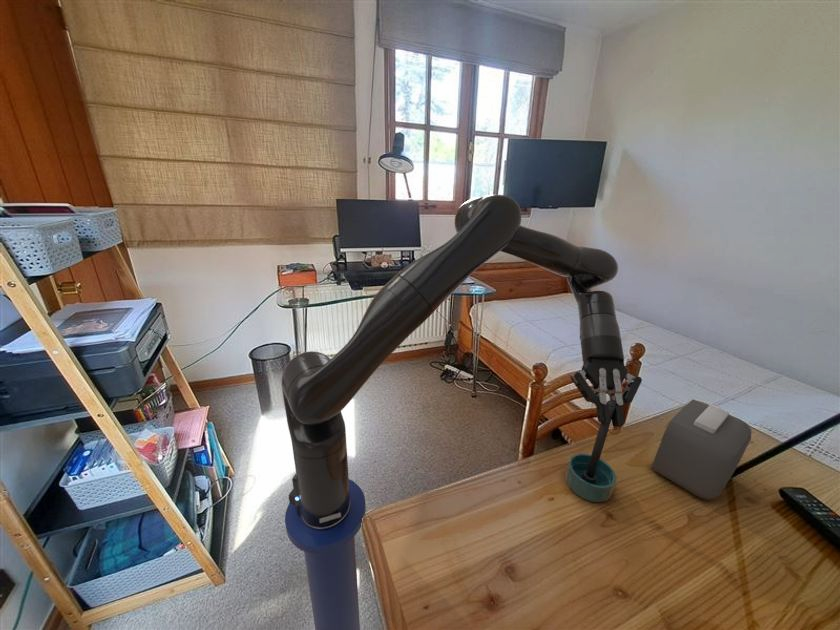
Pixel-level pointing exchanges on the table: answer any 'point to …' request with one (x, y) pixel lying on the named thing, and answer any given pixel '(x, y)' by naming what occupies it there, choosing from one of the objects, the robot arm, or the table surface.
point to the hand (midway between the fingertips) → (611, 425)
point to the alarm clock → (702, 449)
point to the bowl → (588, 490)
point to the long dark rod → (598, 447)
